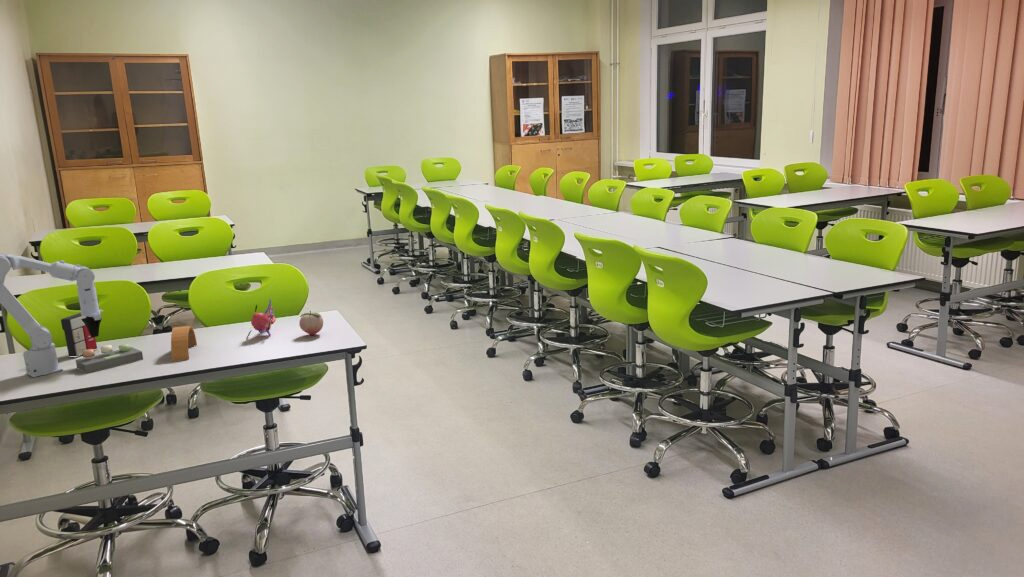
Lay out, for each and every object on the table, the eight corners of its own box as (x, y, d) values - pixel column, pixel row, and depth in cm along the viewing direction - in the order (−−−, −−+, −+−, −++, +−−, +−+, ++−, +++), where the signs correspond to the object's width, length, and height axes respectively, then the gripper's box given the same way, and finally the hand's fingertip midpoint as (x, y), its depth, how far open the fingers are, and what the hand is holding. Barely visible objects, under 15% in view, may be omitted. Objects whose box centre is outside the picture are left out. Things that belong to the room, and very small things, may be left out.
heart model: (243, 345, 286) (252, 323, 304) (269, 348, 288) (276, 326, 306) (248, 305, 280) (257, 285, 298) (274, 310, 282) (282, 289, 300)
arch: (171, 361, 265) (167, 335, 263) (181, 346, 284) (177, 321, 282) (189, 359, 266) (185, 333, 264) (197, 345, 285) (194, 320, 283)
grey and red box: (77, 358, 275) (70, 319, 272) (67, 357, 276) (60, 319, 273) (98, 349, 286) (92, 311, 283) (89, 349, 287) (82, 311, 284)
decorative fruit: (328, 331, 294) (325, 307, 292) (320, 337, 286) (318, 312, 284) (305, 332, 295) (302, 308, 293) (297, 338, 287) (294, 313, 285)
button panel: (86, 373, 256) (84, 364, 255) (77, 368, 263) (75, 359, 262) (143, 359, 269) (141, 350, 269) (132, 354, 276) (131, 346, 275)
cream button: (103, 353, 264) (102, 348, 263) (99, 352, 266) (99, 346, 266) (114, 351, 266) (113, 346, 266) (110, 349, 269) (109, 344, 268)
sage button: (121, 352, 268) (120, 347, 268) (118, 350, 270) (117, 345, 270) (132, 350, 271) (131, 344, 270) (128, 348, 273) (127, 343, 273)
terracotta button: (85, 358, 259) (84, 352, 259) (81, 356, 262) (80, 351, 261) (96, 355, 262) (95, 350, 261) (92, 353, 264) (91, 348, 264)
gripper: (107, 300, 263) (113, 337, 266) (93, 295, 272) (99, 331, 275) (86, 304, 258) (92, 341, 261) (72, 299, 267) (78, 335, 270)
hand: (94, 336), depth 268 cm, fingers closed
